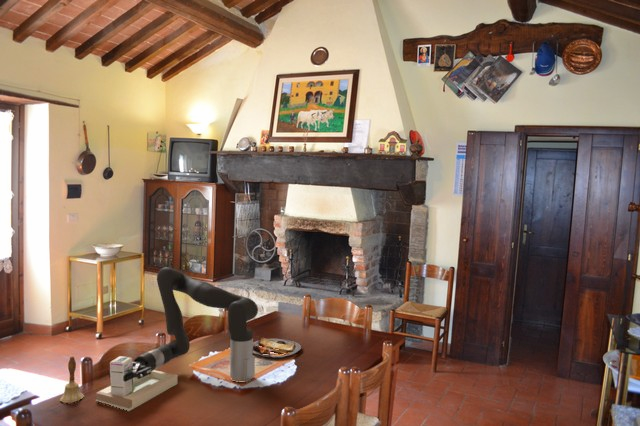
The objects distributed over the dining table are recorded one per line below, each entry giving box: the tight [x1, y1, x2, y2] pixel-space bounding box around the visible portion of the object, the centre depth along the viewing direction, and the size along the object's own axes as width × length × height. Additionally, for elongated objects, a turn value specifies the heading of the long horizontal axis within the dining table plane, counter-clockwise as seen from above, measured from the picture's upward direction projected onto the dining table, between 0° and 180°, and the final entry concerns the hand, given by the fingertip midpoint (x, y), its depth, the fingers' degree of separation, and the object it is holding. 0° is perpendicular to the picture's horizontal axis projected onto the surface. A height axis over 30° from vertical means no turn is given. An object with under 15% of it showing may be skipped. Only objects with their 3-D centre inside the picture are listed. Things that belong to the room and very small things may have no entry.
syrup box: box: [109, 355, 133, 397], centre depth 186 cm, size 6×6×14 cm
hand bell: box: [59, 356, 85, 402], centre depth 187 cm, size 8×8×16 cm
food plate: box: [253, 337, 302, 358], centre depth 243 cm, size 25×23×4 cm
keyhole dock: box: [95, 369, 178, 412], centre depth 194 cm, size 26×16×4 cm, turn 156°
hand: (117, 377), depth 184 cm, fingers closed on syrup box, 6 cm apart
